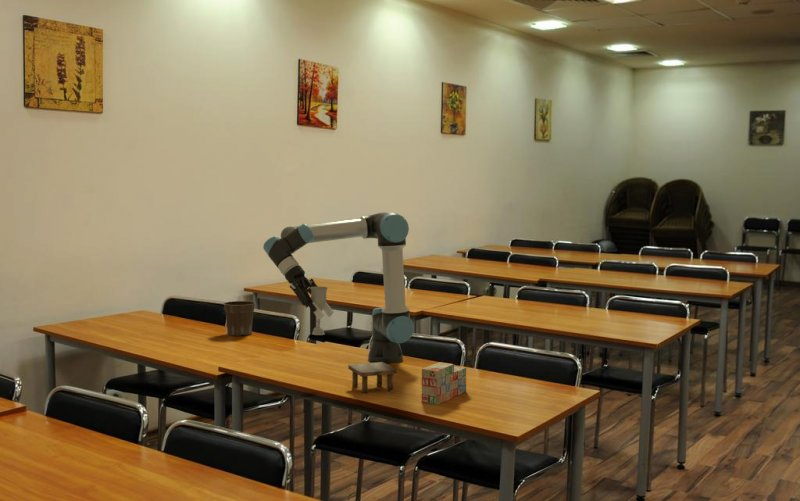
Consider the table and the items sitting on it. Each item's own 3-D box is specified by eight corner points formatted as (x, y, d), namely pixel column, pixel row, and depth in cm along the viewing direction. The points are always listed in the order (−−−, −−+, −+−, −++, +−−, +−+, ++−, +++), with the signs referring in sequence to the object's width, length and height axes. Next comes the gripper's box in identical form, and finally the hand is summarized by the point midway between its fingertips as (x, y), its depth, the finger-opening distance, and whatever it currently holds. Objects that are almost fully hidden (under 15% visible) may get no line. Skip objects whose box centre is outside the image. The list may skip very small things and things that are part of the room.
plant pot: (230, 330, 418) (229, 300, 417) (259, 331, 416) (259, 301, 415) (218, 336, 402) (218, 304, 401) (249, 337, 400) (249, 305, 399)
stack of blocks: (451, 389, 299) (452, 357, 298) (466, 392, 296) (466, 359, 295) (421, 402, 282) (421, 367, 281) (436, 405, 278) (436, 370, 277)
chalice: (323, 336, 306) (324, 289, 304) (306, 335, 308) (307, 288, 306) (329, 332, 313) (330, 286, 311) (313, 331, 315) (313, 286, 313)
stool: (382, 382, 310) (382, 362, 309) (396, 390, 297) (397, 369, 296) (348, 385, 304) (348, 365, 303) (361, 394, 291) (361, 372, 290)
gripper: (300, 274, 324) (333, 318, 318) (271, 279, 307) (306, 325, 301) (311, 262, 321) (345, 306, 315) (282, 266, 304) (318, 313, 298)
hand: (326, 315), depth 308 cm, fingers closed on chalice, 6 cm apart
